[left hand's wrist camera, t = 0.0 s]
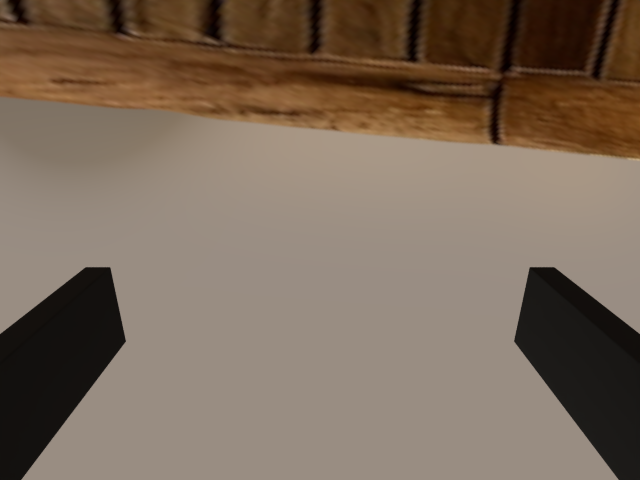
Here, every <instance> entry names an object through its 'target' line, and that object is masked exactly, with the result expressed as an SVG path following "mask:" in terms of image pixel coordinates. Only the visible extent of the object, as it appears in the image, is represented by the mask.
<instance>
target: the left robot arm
mask: <svg viewBox="0 0 640 480" xmlns="http://www.w3.org/2000/svg"><path fill="white" fill-rule="evenodd" d="M125 342H126V340H125V335H124V330H123V326H122V321H121V316H120V311H119V307H118V302H117V297H116V292H115V288H114V283H113V278H112V274H111V269H110V267H86V268H84V269H83V270H82V271H80V272H79V273H78V274H77V275H75V276H74V277H73V278H71V279H70V280H69V281H68V282H66V283H65V284H64V285H63V286H61V287H60V288H59V289H57V290H56V291H55V292H54V293H52V294H51V295H50V296H48V297H47V298H46V299H45V300H43V301H42V302H41V303H40V304H38V305H37V306H36V307H34V308H33V309H32V310H31V311H29V312H28V313H27V314H25V315H24V316H23V317H22V318H20V319H19V320H18V321H16V322H15V323H14V324H13V325H11V326H10V327H9V328H7V329H6V330H5V331H4V332H2V333H1V334H0V480H21V479H22V478H23V477H24V475H25V474H26V473H27V471H28V470H29V469H30V467H31V466H32V465H33V463H34V462H35V461H36V459H37V458H38V457H39V456H40V454H41V453H42V452H43V450H44V449H45V448H46V446H47V445H48V444H49V442H50V441H51V440H52V438H53V437H54V436H55V434H56V433H57V432H58V430H59V429H60V428H61V426H62V425H63V424H64V422H65V421H66V420H67V418H68V417H69V416H70V414H71V413H72V412H73V410H74V409H75V408H76V407H77V405H78V404H79V403H80V401H81V400H82V399H83V397H84V396H85V395H86V393H87V392H88V391H89V389H90V388H91V387H92V385H93V384H94V383H95V381H96V380H97V379H98V377H99V376H100V375H101V373H102V372H103V371H104V369H105V368H106V367H107V366H108V364H109V363H110V362H111V360H112V359H113V358H114V356H115V355H116V354H117V352H118V351H119V350H120V348H121V347H122V346H123V344H124V343H125ZM514 342H515V343H516V344H517V346H518V347H519V348H520V350H521V351H522V352H523V354H524V355H525V356H526V358H527V359H528V360H529V361H530V363H531V364H532V366H533V367H534V368H535V370H536V371H537V372H538V373H539V375H540V376H541V377H542V379H543V380H544V381H545V383H546V384H547V385H548V387H549V388H550V389H551V391H552V392H553V393H554V395H555V396H556V397H557V399H558V400H559V401H560V403H561V404H562V405H563V407H564V408H565V409H566V411H567V412H568V413H569V415H570V416H571V417H572V418H573V420H574V421H575V422H576V424H577V425H578V426H579V428H580V429H581V430H582V432H583V433H584V434H585V436H586V437H587V438H588V440H589V441H590V442H591V444H592V445H593V446H594V448H595V449H596V450H597V452H598V453H599V454H600V456H601V457H602V458H603V459H604V461H605V462H606V463H607V465H608V466H609V467H610V469H611V470H612V471H613V473H614V474H615V475H616V477H617V478H618V479H619V480H640V334H639V333H638V332H636V331H635V330H634V329H633V328H631V327H630V326H629V325H627V324H626V323H625V322H624V321H622V320H621V319H620V318H618V317H617V316H616V315H615V314H613V313H612V312H611V311H609V310H608V309H607V308H606V307H604V306H603V305H602V304H601V303H599V302H598V301H597V300H595V299H594V298H593V297H592V296H590V295H589V294H588V293H586V292H585V291H584V290H583V289H581V288H580V287H579V286H577V285H576V284H575V283H574V282H572V281H571V280H570V279H569V278H567V277H566V276H565V275H563V274H562V273H561V272H560V271H558V270H557V269H556V268H554V267H530V269H529V274H528V278H527V283H526V288H525V292H524V297H523V302H522V307H521V312H520V316H519V321H518V326H517V330H516V335H515V340H514Z"/></svg>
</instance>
